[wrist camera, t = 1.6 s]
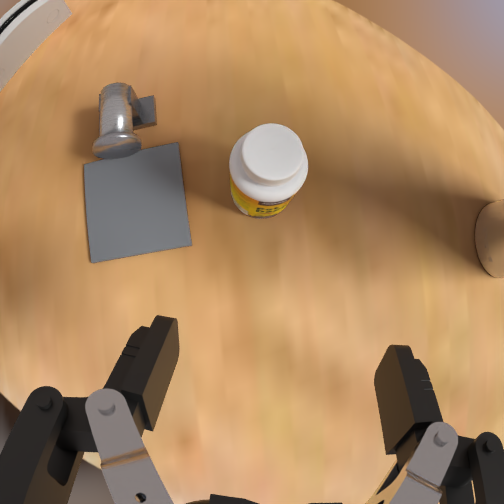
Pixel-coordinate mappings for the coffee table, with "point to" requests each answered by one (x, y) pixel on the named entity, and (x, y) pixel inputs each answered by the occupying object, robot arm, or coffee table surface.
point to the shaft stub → (122, 121)
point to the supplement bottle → (266, 170)
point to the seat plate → (136, 204)
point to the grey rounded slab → (27, 32)
